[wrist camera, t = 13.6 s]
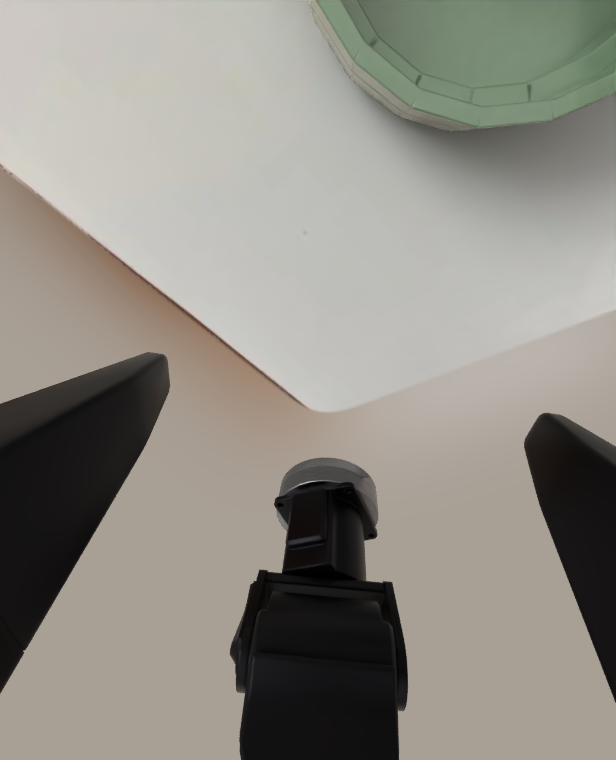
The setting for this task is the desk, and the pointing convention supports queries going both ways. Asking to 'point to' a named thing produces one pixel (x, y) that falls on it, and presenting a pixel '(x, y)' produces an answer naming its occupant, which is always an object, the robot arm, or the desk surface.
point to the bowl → (475, 57)
